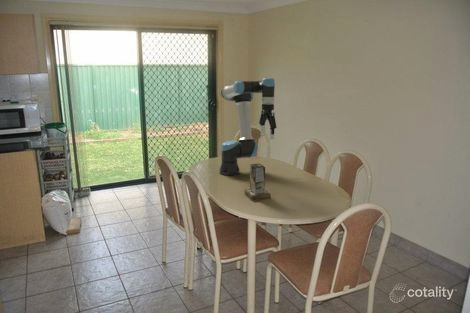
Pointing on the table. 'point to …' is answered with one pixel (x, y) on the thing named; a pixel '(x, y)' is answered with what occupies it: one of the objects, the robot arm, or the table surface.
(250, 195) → the foundation slab
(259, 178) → the coffee box
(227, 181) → the table surface
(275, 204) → the table surface
